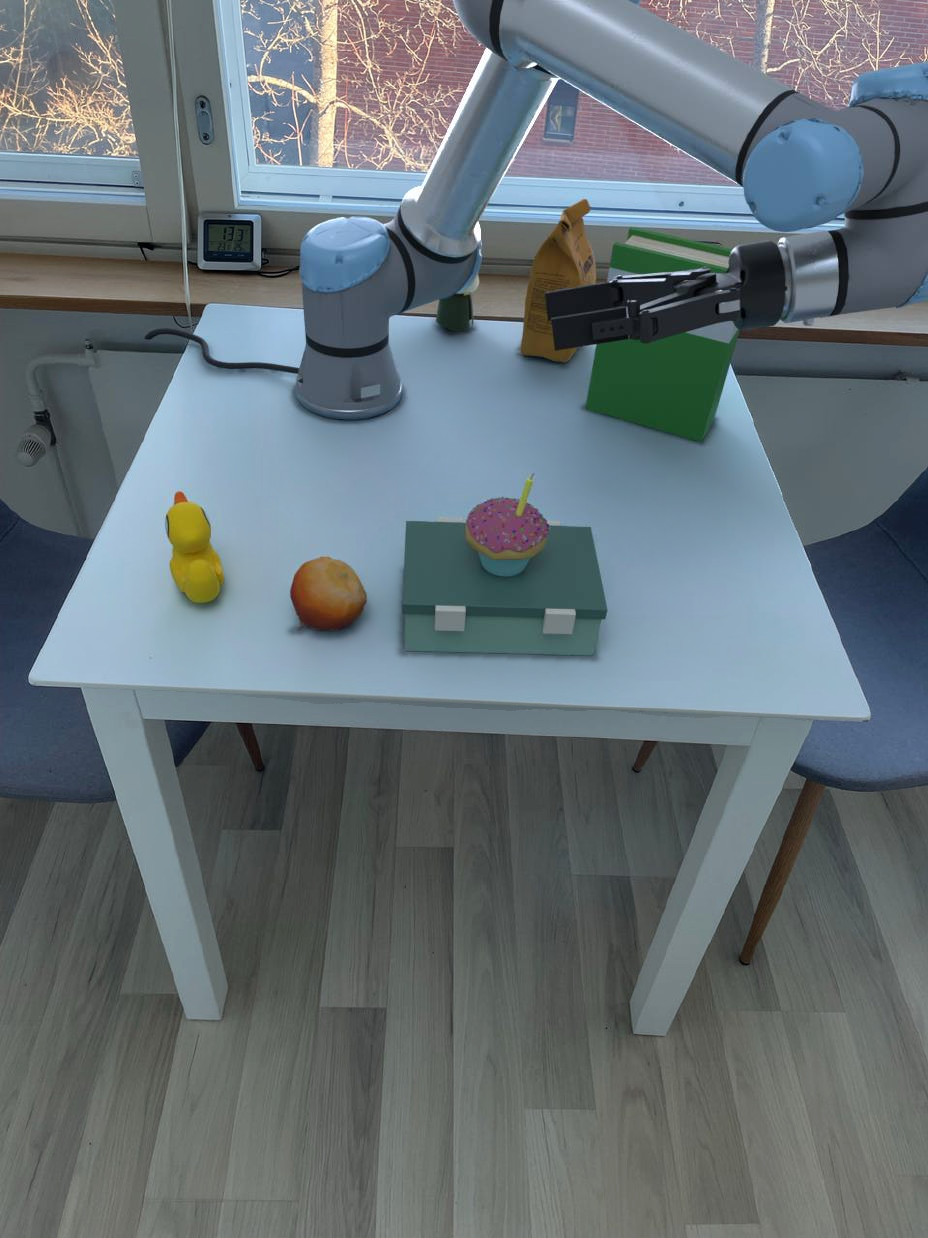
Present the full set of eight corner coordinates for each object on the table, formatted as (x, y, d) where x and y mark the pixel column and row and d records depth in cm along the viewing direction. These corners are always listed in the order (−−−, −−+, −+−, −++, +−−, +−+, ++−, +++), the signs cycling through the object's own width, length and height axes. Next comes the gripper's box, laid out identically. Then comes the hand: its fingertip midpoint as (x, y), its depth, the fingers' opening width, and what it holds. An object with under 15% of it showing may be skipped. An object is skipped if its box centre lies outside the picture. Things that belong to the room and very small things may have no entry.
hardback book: (585, 408, 131) (613, 243, 114) (602, 387, 136) (631, 226, 119) (701, 442, 126) (748, 275, 109) (714, 418, 131) (760, 255, 114)
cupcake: (552, 549, 95) (567, 455, 87) (530, 598, 89) (544, 502, 81) (476, 530, 97) (484, 435, 89) (450, 577, 91) (456, 480, 83)
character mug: (455, 343, 143) (459, 263, 134) (418, 330, 146) (420, 251, 137) (489, 319, 150) (495, 242, 141) (454, 308, 153) (458, 231, 144)
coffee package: (595, 340, 147) (619, 202, 132) (567, 371, 139) (589, 227, 124) (541, 325, 150) (558, 188, 135) (510, 354, 142) (524, 212, 126)
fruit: (276, 583, 97) (310, 534, 93) (340, 609, 100) (376, 563, 96) (270, 635, 91) (307, 585, 87) (338, 661, 95) (376, 614, 90)
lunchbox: (401, 658, 92) (402, 609, 87) (405, 564, 103) (406, 515, 98) (597, 663, 93) (608, 615, 88) (580, 569, 104) (590, 522, 99)
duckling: (166, 557, 101) (150, 485, 94) (214, 548, 103) (201, 477, 96) (183, 623, 94) (166, 549, 87) (234, 611, 96) (221, 539, 89)
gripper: (818, 354, 73) (561, 393, 75) (745, 300, 95) (548, 332, 97) (821, 257, 69) (551, 301, 72) (744, 225, 91) (539, 260, 93)
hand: (548, 319), depth 84 cm, fingers open, 13 cm apart
